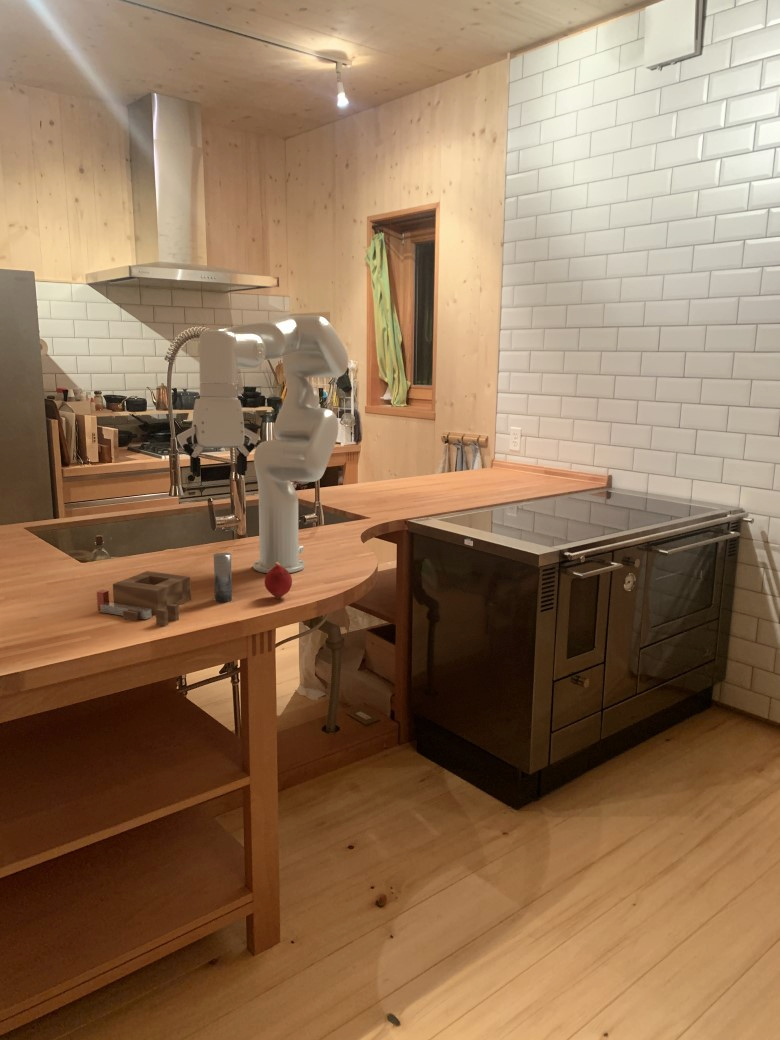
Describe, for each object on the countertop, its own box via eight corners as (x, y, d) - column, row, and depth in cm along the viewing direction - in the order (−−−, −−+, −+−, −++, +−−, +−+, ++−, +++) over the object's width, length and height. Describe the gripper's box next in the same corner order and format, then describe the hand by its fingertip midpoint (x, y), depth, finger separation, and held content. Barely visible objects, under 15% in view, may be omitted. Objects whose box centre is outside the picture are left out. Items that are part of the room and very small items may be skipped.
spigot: (220, 596, 167) (219, 552, 165) (235, 598, 166) (234, 553, 164) (211, 601, 164) (210, 555, 162) (226, 603, 162) (224, 557, 160)
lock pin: (103, 608, 157) (102, 589, 156) (151, 616, 153) (150, 596, 152) (97, 611, 155) (96, 592, 154) (145, 619, 151) (144, 599, 150)
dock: (148, 593, 168) (147, 571, 167) (212, 602, 163) (212, 579, 162) (96, 614, 154) (94, 590, 153) (164, 626, 148) (163, 601, 147)
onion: (293, 594, 170) (293, 559, 168) (290, 602, 164) (290, 566, 162) (266, 594, 169) (266, 558, 168) (263, 602, 164) (262, 565, 162)
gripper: (251, 393, 165) (251, 472, 168) (171, 391, 156) (172, 474, 159) (265, 393, 159) (264, 476, 162) (182, 391, 150) (183, 479, 153)
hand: (219, 475), depth 161 cm, fingers open, 9 cm apart
